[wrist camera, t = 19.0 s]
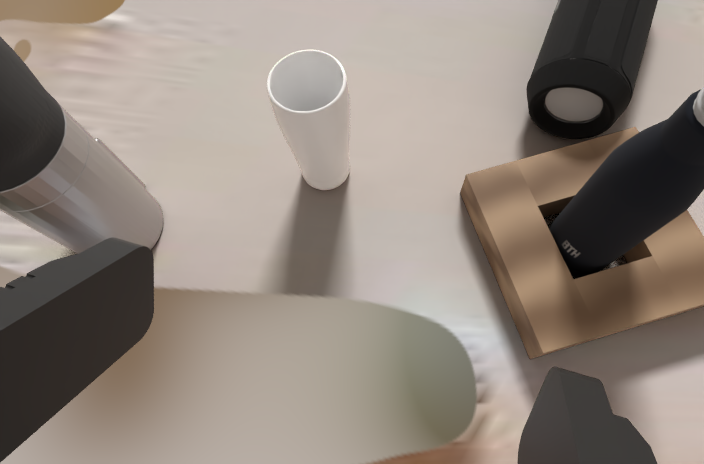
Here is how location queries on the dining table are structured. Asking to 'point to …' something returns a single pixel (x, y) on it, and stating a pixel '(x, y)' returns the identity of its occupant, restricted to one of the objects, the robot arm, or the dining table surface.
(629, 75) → the portable speaker
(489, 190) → the walnut jig
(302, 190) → the dining table surface
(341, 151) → the drinking glass
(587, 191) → the black bottle
